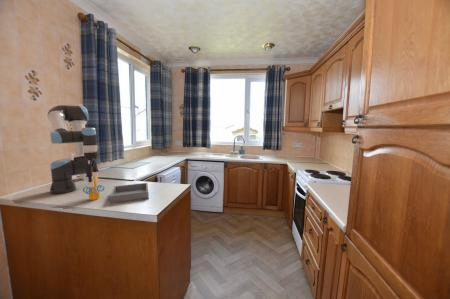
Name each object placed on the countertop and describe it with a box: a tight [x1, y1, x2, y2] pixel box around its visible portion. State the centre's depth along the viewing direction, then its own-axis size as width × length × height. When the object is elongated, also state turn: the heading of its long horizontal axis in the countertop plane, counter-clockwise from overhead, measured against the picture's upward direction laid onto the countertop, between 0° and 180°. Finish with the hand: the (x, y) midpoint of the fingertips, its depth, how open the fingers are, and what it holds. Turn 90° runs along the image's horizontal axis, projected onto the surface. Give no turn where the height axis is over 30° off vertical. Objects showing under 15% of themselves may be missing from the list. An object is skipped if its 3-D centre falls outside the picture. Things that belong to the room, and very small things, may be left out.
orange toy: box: [82, 176, 105, 201], centre depth 133 cm, size 12×10×15 cm
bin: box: [109, 182, 150, 205], centre depth 138 cm, size 22×22×5 cm
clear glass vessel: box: [79, 174, 93, 181], centre depth 184 cm, size 10×9×17 cm
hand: (93, 184), depth 132 cm, fingers open, 13 cm apart
